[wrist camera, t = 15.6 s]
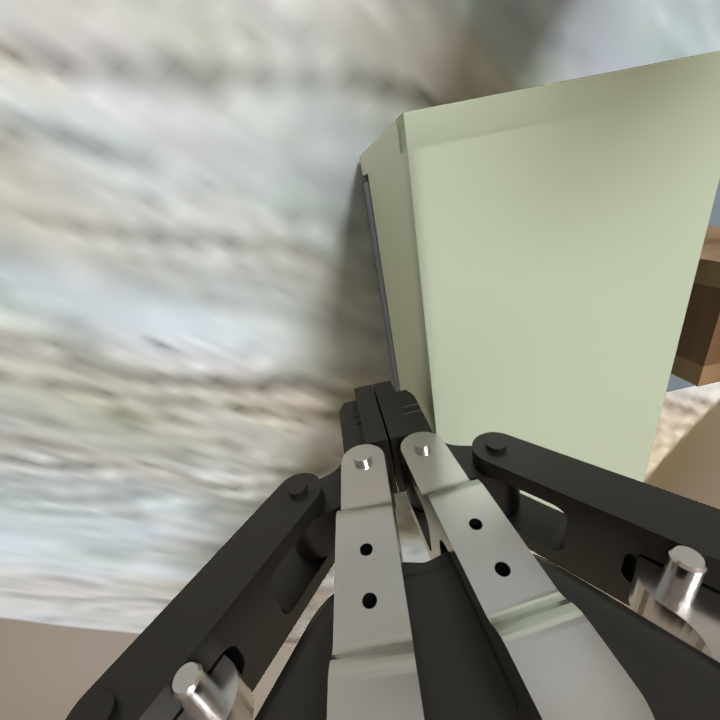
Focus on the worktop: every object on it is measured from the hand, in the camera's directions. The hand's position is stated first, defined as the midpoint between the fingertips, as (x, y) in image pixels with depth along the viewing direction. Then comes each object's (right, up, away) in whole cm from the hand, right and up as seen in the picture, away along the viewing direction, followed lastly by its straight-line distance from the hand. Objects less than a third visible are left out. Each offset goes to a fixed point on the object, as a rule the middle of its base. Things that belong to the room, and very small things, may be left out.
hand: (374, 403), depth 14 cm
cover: (+5, +4, +6) cm, 9 cm away
